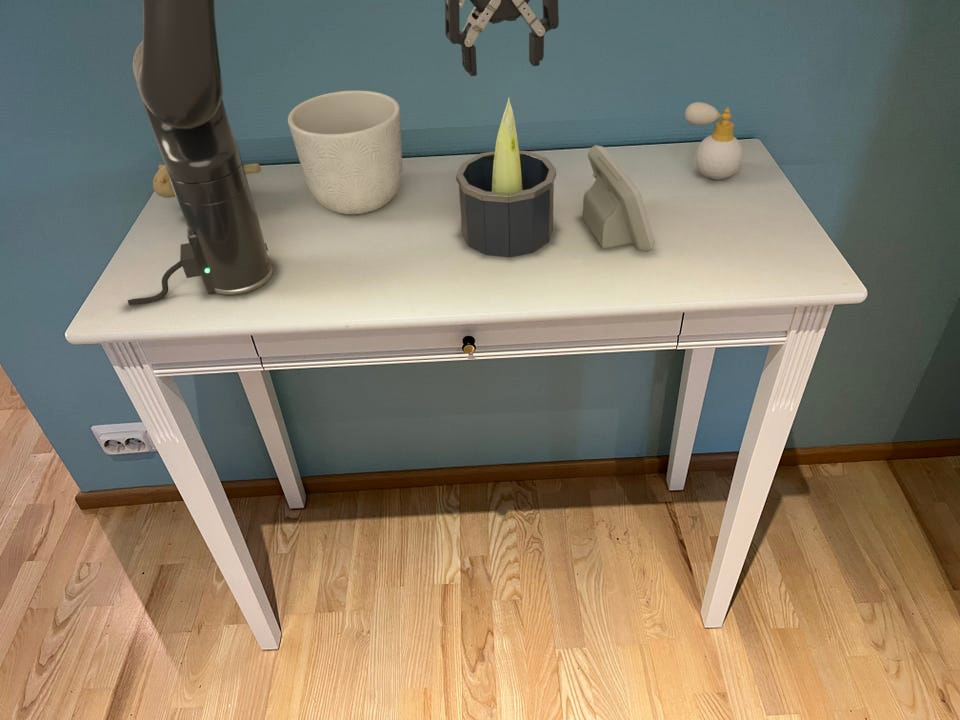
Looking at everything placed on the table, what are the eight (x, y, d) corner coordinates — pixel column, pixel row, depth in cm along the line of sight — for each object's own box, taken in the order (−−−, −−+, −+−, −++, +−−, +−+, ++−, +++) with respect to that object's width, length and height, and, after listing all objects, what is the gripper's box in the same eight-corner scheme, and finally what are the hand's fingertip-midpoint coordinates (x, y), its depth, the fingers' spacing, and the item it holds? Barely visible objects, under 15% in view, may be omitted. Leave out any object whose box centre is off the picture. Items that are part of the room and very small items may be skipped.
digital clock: (656, 256, 105) (665, 189, 98) (593, 260, 105) (597, 193, 98) (634, 200, 117) (641, 137, 110) (578, 204, 117) (581, 141, 110)
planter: (384, 234, 113) (370, 140, 103) (288, 219, 118) (266, 129, 108) (425, 182, 125) (416, 94, 115) (336, 171, 130) (320, 86, 120)
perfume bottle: (745, 184, 120) (760, 113, 112) (686, 189, 119) (697, 117, 112) (730, 163, 125) (743, 94, 117) (674, 168, 125) (683, 98, 117)
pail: (476, 265, 106) (472, 203, 99) (451, 218, 116) (446, 159, 109) (567, 247, 108) (569, 185, 101) (535, 202, 118) (535, 143, 112)
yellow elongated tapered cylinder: (533, 235, 111) (533, 109, 98) (505, 246, 109) (502, 119, 96) (511, 219, 115) (509, 96, 102) (484, 230, 113) (478, 106, 100)
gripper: (546, -85, 89) (544, 52, 100) (432, -72, 86) (443, 67, 97) (569, -73, 84) (564, 70, 94) (448, -59, 81) (458, 87, 92)
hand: (503, 69), depth 96 cm, fingers open, 8 cm apart
